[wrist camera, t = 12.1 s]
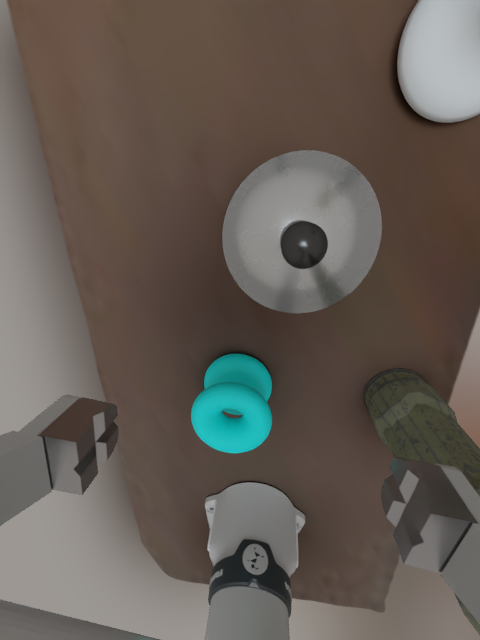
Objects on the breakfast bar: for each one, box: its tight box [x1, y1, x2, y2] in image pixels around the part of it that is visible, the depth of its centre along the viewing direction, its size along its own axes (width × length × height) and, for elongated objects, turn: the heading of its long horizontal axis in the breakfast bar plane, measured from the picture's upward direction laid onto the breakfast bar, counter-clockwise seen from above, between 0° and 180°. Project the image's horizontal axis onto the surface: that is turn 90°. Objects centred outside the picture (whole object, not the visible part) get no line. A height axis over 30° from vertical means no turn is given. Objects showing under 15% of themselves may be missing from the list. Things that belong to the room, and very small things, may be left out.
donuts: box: [191, 354, 272, 453], centre depth 37 cm, size 10×10×10 cm
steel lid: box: [222, 150, 382, 313], centre depth 22 cm, size 13×13×5 cm
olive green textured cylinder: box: [364, 369, 480, 635], centre depth 24 cm, size 9×12×35 cm
